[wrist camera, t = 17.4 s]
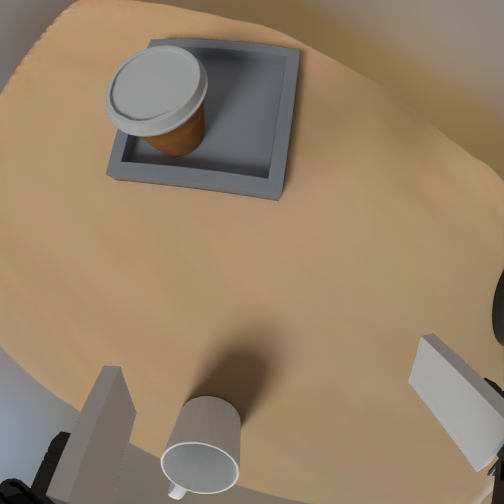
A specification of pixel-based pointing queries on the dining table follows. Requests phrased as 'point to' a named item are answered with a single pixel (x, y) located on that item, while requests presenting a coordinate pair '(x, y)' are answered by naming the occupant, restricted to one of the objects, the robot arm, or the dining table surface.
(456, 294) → the dining table surface
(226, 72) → the slate tray
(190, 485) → the mug
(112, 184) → the dining table surface
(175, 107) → the disposable coffee cup
